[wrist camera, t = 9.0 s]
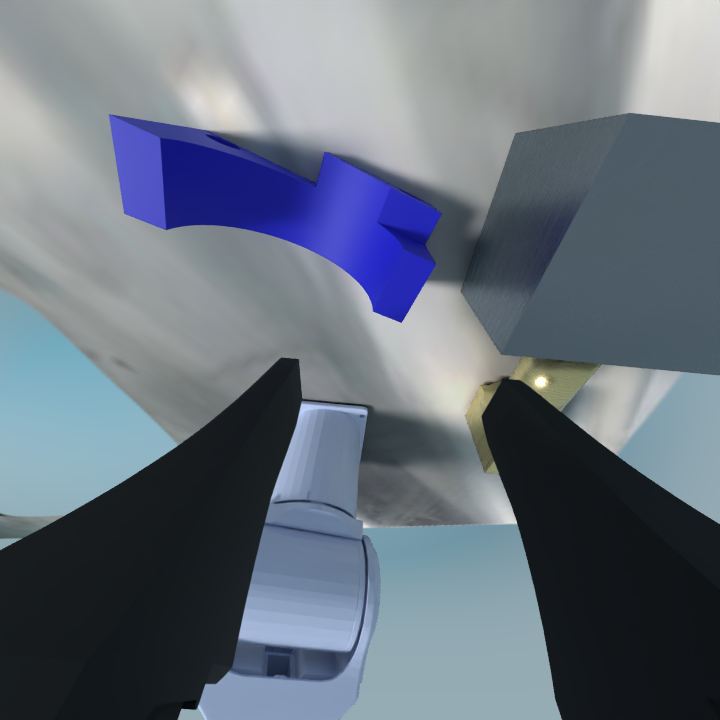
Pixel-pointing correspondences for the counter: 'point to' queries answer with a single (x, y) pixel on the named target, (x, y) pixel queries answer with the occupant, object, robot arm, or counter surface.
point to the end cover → (542, 376)
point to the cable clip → (279, 205)
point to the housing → (605, 245)
